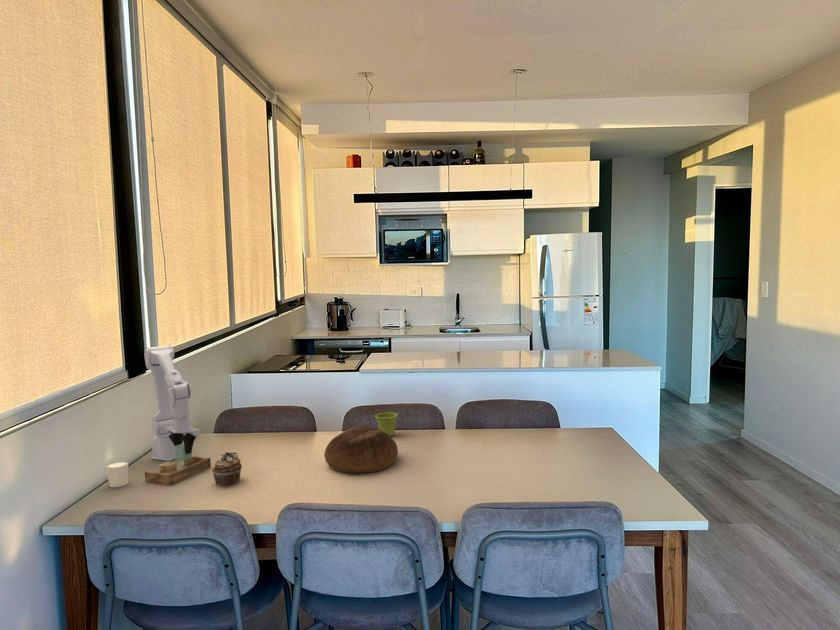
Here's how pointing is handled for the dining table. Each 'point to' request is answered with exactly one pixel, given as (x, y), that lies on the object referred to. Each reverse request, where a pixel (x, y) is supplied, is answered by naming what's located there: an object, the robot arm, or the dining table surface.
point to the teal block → (181, 452)
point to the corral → (195, 467)
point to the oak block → (168, 468)
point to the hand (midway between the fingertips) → (184, 452)
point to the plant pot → (387, 422)
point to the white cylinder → (117, 474)
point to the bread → (361, 450)
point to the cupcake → (227, 469)
